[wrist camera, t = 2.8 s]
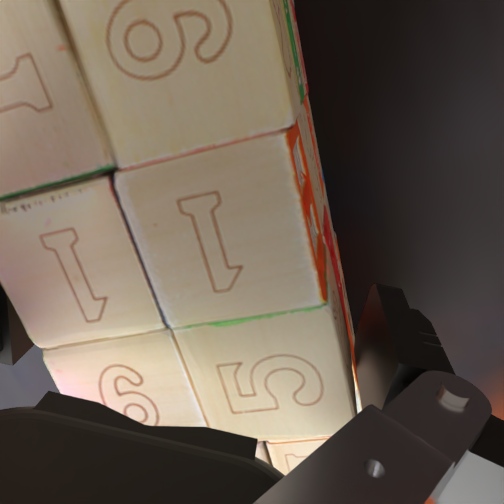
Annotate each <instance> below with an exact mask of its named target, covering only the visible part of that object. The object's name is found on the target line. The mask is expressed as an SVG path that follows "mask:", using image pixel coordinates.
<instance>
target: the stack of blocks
mask: <svg viewBox="0 0 504 504" xmlns="http://www.w3.org/2000/svg"><path fill="white" fill-rule="evenodd" d="M308 92H309V88H308V84H307V77H306V71H305V66H304V60H303V55H302V49H301V43H300V38H299V32H298V27H297V21H296V16H295V9H294V0H0V283H1V285H2V287H3V289H4V291H5V292H6V294H7V296H8V297H9V299H10V301H11V303H12V305H13V306H14V308H15V310H16V312H17V314H18V316H19V318H20V320H21V322H22V324H23V326H24V328H25V330H26V332H27V334H28V336H29V338H30V339H31V340H32V342H33V343H34V344H36V345H37V346H38V347H40V348H41V349H42V351H43V360H44V363H45V365H46V366H47V368H48V370H49V372H50V374H51V376H52V378H53V380H54V382H55V384H56V385H57V387H58V389H59V391H60V393H61V394H64V395H69V396H73V397H77V398H82V399H86V400H90V401H95V402H99V403H101V404H103V405H105V406H107V407H109V408H111V409H113V410H115V411H117V412H119V413H121V414H123V415H125V416H128V417H130V418H132V419H134V420H136V421H138V422H140V423H142V424H144V425H149V426H190V427H208V428H213V429H217V430H222V431H226V432H230V433H235V434H239V435H243V436H248V437H252V438H257V439H258V441H257V448H256V455H255V457H257V458H259V459H261V460H263V461H265V462H267V463H268V464H270V465H271V466H273V467H275V468H276V469H277V470H279V471H280V472H281V473H283V474H284V475H285V476H286V475H287V474H288V473H289V472H290V471H291V470H293V469H294V468H295V467H296V466H297V465H298V464H300V463H301V462H302V461H303V460H304V459H305V458H307V457H308V456H309V455H310V454H311V453H312V452H314V451H315V450H316V449H317V448H318V447H320V446H321V445H322V444H323V443H324V442H325V441H327V440H328V439H329V438H330V437H331V436H332V435H334V434H335V433H336V432H337V431H338V430H339V429H341V428H342V427H343V426H344V425H345V424H346V423H348V422H349V421H350V420H351V419H352V418H353V417H355V416H356V415H357V414H358V413H359V412H360V411H362V405H361V398H360V391H359V384H358V377H357V371H356V364H355V357H354V342H355V336H354V331H353V325H352V319H351V314H350V309H349V304H348V299H347V294H346V289H345V282H344V276H343V271H342V266H341V260H340V255H339V249H338V244H337V238H336V233H335V232H334V230H333V226H332V220H331V215H330V209H329V204H328V199H327V193H326V187H325V181H324V176H323V171H322V167H321V162H320V157H319V151H318V146H317V140H316V135H315V130H314V124H313V119H312V113H311V108H310V103H309V98H308Z"/></svg>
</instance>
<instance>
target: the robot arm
mask: <svg viewBox="0 0 504 504" xmlns="http://www.w3.org/2000/svg"><path fill="white" fill-rule="evenodd" d="M436 335H437V334H436V332H435V330H434V328H433V326H432V324H431V322H430V321H429V320H428V319H427V318H426V317H425V316H424V315H423V314H422V313H421V312H420V311H419V310H415V309H410V308H409V305H408V303H407V300H406V298H405V295H404V293H403V291H402V289H399V288H395V287H390V286H385V285H380V284H375V283H374V284H373V285H372V286H371V288H370V291H369V294H368V297H367V300H366V303H365V306H364V309H363V313H362V316H361V319H360V322H359V325H358V329H357V332H356V336H355V342H354V357H355V364H356V371H357V377H358V384H359V391H360V398H361V405H362V411H360V412H359V413H358V414H357V415H356V416H355V417H353V418H352V419H351V420H350V421H349V422H348V423H346V424H345V425H344V426H343V427H342V428H341V429H339V430H338V431H337V432H336V433H335V434H334V435H332V436H331V437H330V438H329V439H328V440H327V441H325V442H324V443H323V444H322V445H321V446H320V447H318V448H317V449H316V450H315V451H314V452H312V453H311V454H310V455H309V456H308V457H307V458H305V459H304V460H303V461H302V462H301V463H300V464H298V465H297V466H296V467H295V468H294V469H293V470H291V471H290V472H289V473H288V474H287V475H286V476H285V475H284V474H283V473H281V472H280V471H279V470H277V469H276V468H275V467H273V466H271V465H270V464H268V463H267V462H265V461H263V460H261V459H259V458H257V457H255V455H256V448H257V441H258V439H257V438H252V437H248V436H243V435H239V434H235V433H230V432H226V431H222V430H217V429H213V428H208V427H190V426H149V425H144V424H142V423H140V422H138V421H136V420H134V419H132V418H130V417H128V416H125V415H123V414H121V413H119V412H117V411H115V410H113V409H111V408H109V407H107V406H105V405H103V404H101V403H99V402H95V401H90V400H86V399H82V398H77V397H73V396H69V395H64V394H60V393H55V392H51V391H48V392H47V393H46V394H45V396H44V397H43V398H42V399H41V400H40V402H39V403H38V404H37V405H36V406H29V407H16V408H9V409H3V410H0V504H504V420H501V419H499V418H497V417H495V416H493V415H492V414H491V413H492V408H491V404H490V402H489V400H488V399H487V398H486V396H485V395H484V394H483V393H482V392H481V391H480V390H479V389H478V388H477V387H475V386H474V385H473V384H471V383H470V382H468V381H466V380H465V379H463V378H461V377H459V376H456V375H455V373H454V371H453V368H452V366H451V364H450V362H449V360H448V358H447V356H446V353H445V351H444V349H443V347H441V343H440V341H439V338H438V337H436ZM33 345H34V343H33V342H32V340H31V339H30V338H29V336H28V334H27V332H26V330H25V328H24V326H23V324H22V322H21V320H20V318H19V316H18V314H17V312H16V310H15V308H14V306H13V305H12V303H11V301H10V299H9V297H8V296H7V294H6V292H5V291H4V289H3V287H2V285H1V283H0V363H3V364H7V365H12V366H13V365H14V364H15V363H16V362H17V361H18V360H19V359H20V358H21V357H22V356H23V355H24V354H25V353H26V352H27V351H28V350H29V349H30V348H31V347H32V346H33Z"/></svg>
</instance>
